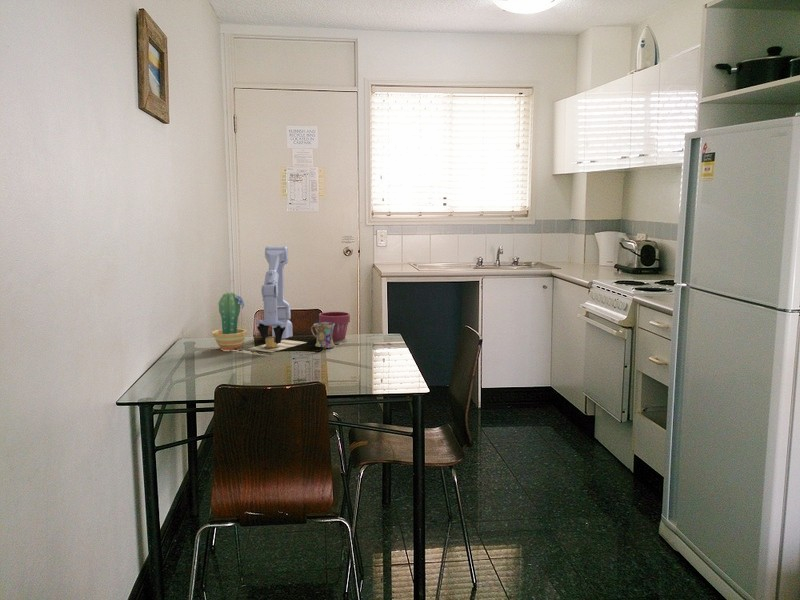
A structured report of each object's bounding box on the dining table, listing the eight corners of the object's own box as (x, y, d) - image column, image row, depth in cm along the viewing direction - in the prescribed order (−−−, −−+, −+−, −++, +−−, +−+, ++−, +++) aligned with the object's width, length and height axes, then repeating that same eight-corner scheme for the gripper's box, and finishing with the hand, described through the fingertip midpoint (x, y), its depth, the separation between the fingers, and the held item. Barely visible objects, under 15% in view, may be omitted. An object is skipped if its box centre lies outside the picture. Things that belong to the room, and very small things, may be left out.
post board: (284, 342, 314) (283, 330, 313) (307, 344, 307) (307, 333, 306) (247, 351, 294) (246, 339, 293) (271, 354, 286) (271, 342, 286)
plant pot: (356, 339, 318) (355, 312, 316) (338, 345, 306) (337, 317, 304) (332, 337, 325) (331, 310, 324) (313, 342, 313) (312, 314, 312)
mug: (339, 346, 302) (339, 323, 301) (326, 350, 294) (326, 326, 293) (318, 344, 308) (317, 321, 307) (305, 347, 300) (304, 324, 299)
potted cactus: (232, 354, 289) (230, 295, 285) (204, 351, 295) (201, 294, 292) (255, 347, 303) (253, 291, 299) (228, 344, 309) (225, 290, 306)
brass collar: (271, 345, 300) (271, 336, 300) (280, 346, 298) (279, 337, 297) (263, 347, 296) (263, 338, 295) (272, 348, 293) (271, 339, 293)
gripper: (251, 311, 295) (252, 342, 297) (277, 314, 287) (278, 345, 289) (263, 309, 301) (264, 339, 303) (288, 311, 293) (289, 342, 295)
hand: (271, 342), depth 296 cm, fingers open, 7 cm apart
